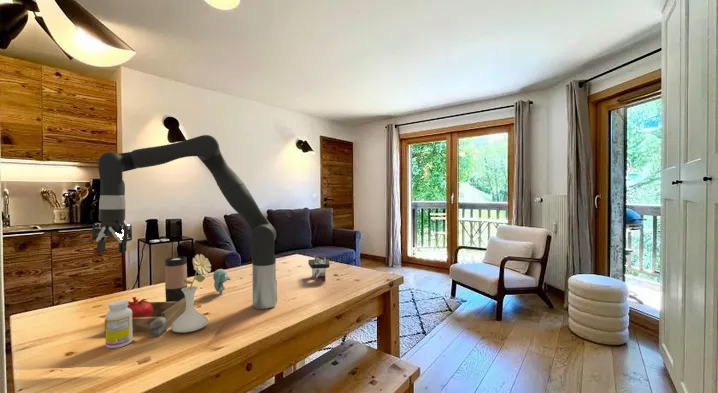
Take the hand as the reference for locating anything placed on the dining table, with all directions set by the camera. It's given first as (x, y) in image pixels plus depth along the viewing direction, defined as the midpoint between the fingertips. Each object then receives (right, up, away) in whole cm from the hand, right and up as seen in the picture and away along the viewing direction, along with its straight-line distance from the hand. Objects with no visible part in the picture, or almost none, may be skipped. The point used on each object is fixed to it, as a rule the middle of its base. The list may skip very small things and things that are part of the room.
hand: (111, 252), depth 114 cm
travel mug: (+16, -25, +13) cm, 32 cm away
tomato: (+10, -25, -2) cm, 27 cm away
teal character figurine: (+28, -25, +28) cm, 47 cm away
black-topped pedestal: (+69, -24, +50) cm, 89 cm away
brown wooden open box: (+15, -25, -3) cm, 29 cm away
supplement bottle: (+16, -25, -18) cm, 35 cm away
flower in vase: (+33, -25, -6) cm, 42 cm away
